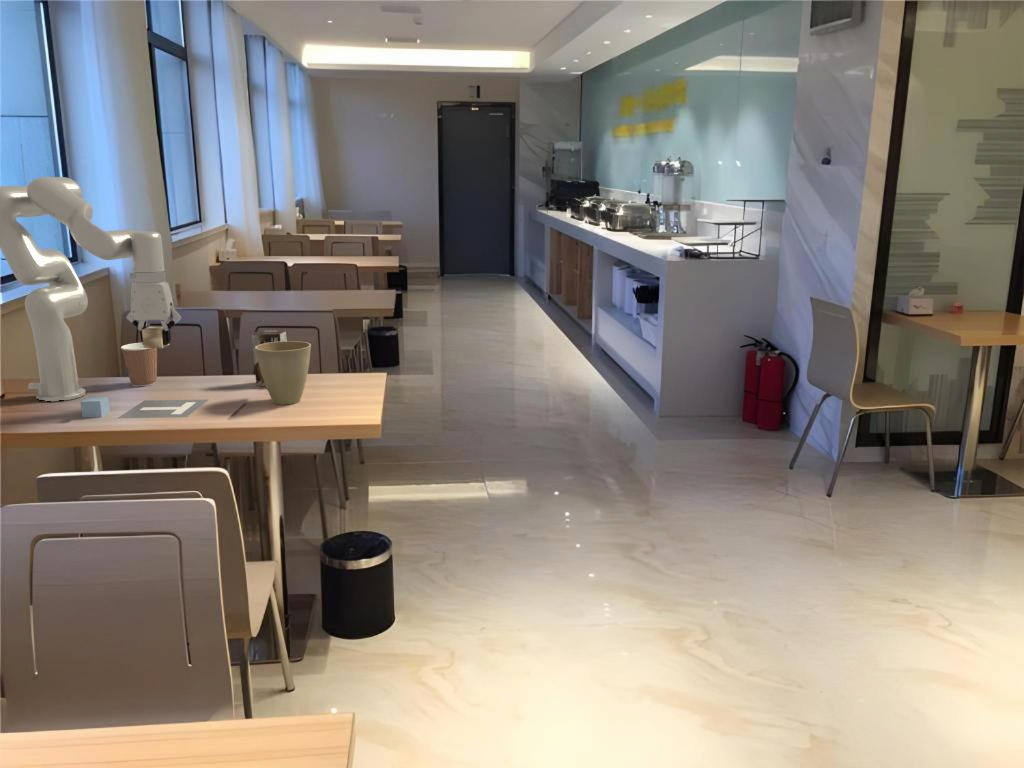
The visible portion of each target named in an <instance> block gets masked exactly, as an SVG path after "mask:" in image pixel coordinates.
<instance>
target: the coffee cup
mask: <svg viewBox="0 0 1024 768" xmlns="http://www.w3.org/2000/svg"><path fill="white" fill-rule="evenodd" d="M120 349H121V350H122V354H123V359H124V361H125V367H126V372H127V375H128V377H129V382H130V384H131V386H132V387H135V386H144V387H148V386H147V385H151V386H153V385H152V384H154V385H156V384H157V378H158V375H157V373H158V348H144V345H143V343H142V342H134V343H128V344H124V345H122V346H120ZM155 383H156V384H155Z"/></svg>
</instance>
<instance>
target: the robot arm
mask: <svg viewBox="0 0 1024 768" xmlns="http://www.w3.org/2000/svg"><path fill="white" fill-rule="evenodd" d="M46 215H47V216H48V215H49V216H51V217H52V218H54V219H55V220H57V221H58V222H60V223H61V224H63V225H64V226H66V227H67V228H68V229H69V233H70V234H71V237H72V238H73V240H74V241H75V243H76V244H77V245H78V246H79V247H81V248H82V249H84V250H85V251H87V252H88V253H90V254H91V255H92V256H94V257H97V258H99V259H100V260H105V261H114V260H121V259H122V260H123V259H129V258H132V261H133V270H134V271H133V273H130V274H129V278H130V279H132V280H134V283H132V284H131V291H130V293H131V295H130V311H129V313H128V314H127V316H126V317H125V318H126V320H128V321H129V322H130V323H132V325H134V326H135V327H136V328H137V330H138V331H139V333H140V341H141V343H143V335H142V330H143V329H145V328H148V327H147V325H148V322H149V321H150V322H153V321H154V322H155V321H158V322H160V324H161V327H163V330H164V331H162V335H163V344H164V345H168V344H169V345H170V344H171V341H172V335H171V330H172V328H173V327H174V326H175V325H176V324H177V323H178V322H179V321H180V320H181V319H182V316H181V315H180V313H179V312H178V311H177V310H176V309H175V308H174V306H175V305H174V301H173V300H174V299H173V296H172V290H171V287H170V285H169V282H166V272H165V271H166V270H165V264H164V263H165V262H164V259H165V258H164V250H163V241H162V235H161V233H159V232H158V231H146V230H144V231H142V230H141V231H139V230H134V229H117V230H107V231H106V230H103V229H102V228H100V227H99V226H97V225H96V224H95V223H93V222H91V220H92V218H93V215H94V209H93V206H92V205H91V203H90V202H88V201H86V200H85V199H84V198H83V191H82V188H81V187H80V185H79V184H78V183H77V182H76V181H75V180H73V179H71V178H69V177H66V176H65V177H63V176H41V177H38V178H35V179H33V180H31V181H30V182H29V183H28V185H5V186H0V250H1V253H2V255H3V256H4V258H5V260H6V262H7V264H8V266H9V268H10V270H11V272H12V273H13V275H14V277H15V279H16V280H17V281H18V282H19V283H20V284H21V285H24V286H37V285H45V284H48V286H44V287H43V286H42V287H38V288H36V289H33V290H31V291H30V292H29V293H28V294H27V295H26V297H25V300H24V307H25V308H24V309H25V312H26V315H27V317H28V321H29V324H30V326H31V332H32V334H33V335H32V337H33V342H34V349H35V353H36V355H35V356H36V362H37V367H38V368H37V369H38V374H39V382H38V383H37V382H29V383H28V385H27V389H28V391H31V392H32V391H36V392H37V394H36V395H35V397H36V400H37V399H39V400H45V401H44V402H47V401H51V402H60V401H59V400H64V401H70V400H74V399H79V398H82V397H83V396H85V395H86V392H87V391H86V389H85V388H82V387H80V385H79V378H78V377H79V376H78V372H77V369H78V368H77V363H76V356H75V349H74V341H73V336H72V332H71V330H70V328H69V326H68V324H67V323H66V322H65V320H64V319H66V318H67V319H68V318H72V317H75V316H79V315H81V314H83V313H84V312H85V311H86V309H87V308H88V303H89V300H88V299H89V298H88V296H87V292H86V290H85V288H84V286H83V284H82V282H81V280H80V278H79V276H78V275H77V273H76V270H75V269H74V266H73V264H72V263H71V260H69V258H68V257H67V255H65V254H64V253H62V251H59V250H57V249H53V248H46V249H45V248H44V249H40V248H39V247H38V246H37V244H36V242H35V241H34V238H33V236H32V234H31V233H30V232H29V231H28V229H27V228H26V227H25V226H24V225H22V224H21V223H20V222H19V221H18V220H16V219H17V218H31V217H42V216H46ZM170 319H171V320H170ZM169 345H168V346H169ZM39 400H38V401H39Z"/></svg>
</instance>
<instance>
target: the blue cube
mask: <svg viewBox="0 0 1024 768" xmlns="http://www.w3.org/2000/svg"><path fill="white" fill-rule="evenodd" d="M80 409H81V416H82V418H103V417H105V416H106V415H108V414H109V413H111V408H110V399H109V396H107V395H106V396H88V397H86V398H84V399H82V400H80Z"/></svg>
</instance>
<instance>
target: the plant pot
mask: <svg viewBox="0 0 1024 768" xmlns="http://www.w3.org/2000/svg"><path fill="white" fill-rule="evenodd" d="M255 349H256V354H257V358H258V363H259V366H260V370H261V373H262V376H263V379H264V382H265V385H266V386H265V387H266V389H267V392H268V394H269V397H270V399H271V400H272V403H273V404H277V405H281V404H282V406H283V405H284V404H286V405H294V404H297V403H299V402H300V401H301V399H302V396H303V393H304V391H305V390H304V389H305V386H306V382H307V378H308V373H309V367H310V361H311V359H310V358H311V350H312V344H311V343H309V342H307V341H299V340H298V341H296V340H295V341H294V340H290V341H289V340H288V341H280V342H270V343H264V344H260V345H257V346H256V347H255ZM293 403H294V404H293Z"/></svg>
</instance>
